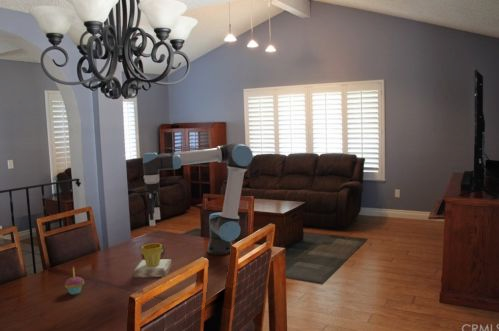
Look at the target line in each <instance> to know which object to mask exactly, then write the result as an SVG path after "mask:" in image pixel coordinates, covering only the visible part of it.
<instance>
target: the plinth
mask: <svg viewBox="0 0 499 331" xmlns="http://www.w3.org/2000/svg"><path fill="white" fill-rule="evenodd" d="M171 267H172V259H171V258H170V259H169V258H166V259H165V258H161V259H160V263H159V265H156V266H147V265H146V261H145V260H141V261H140V262H139V263H138V264H137V265H136V267H135V268H134V270H133V277H134V278H153V277H155V278H156V277H158V278H159V277H167V275H168V273H169V271H170V270H171Z"/></svg>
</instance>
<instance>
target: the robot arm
mask: <svg viewBox="0 0 499 331" xmlns="http://www.w3.org/2000/svg"><path fill="white" fill-rule="evenodd" d="M253 158H254V154H253V151H252V149H251V148H250V147H249V146H248V145H246V144H243V143H235V142H234V143H229V144H223V145H217V146H216V147H214V148H213V147H212V148H203V149H194V150H188V151H187V150H186V151H176V152H168V153H166V152H163V153H160V154H158V153H157V152H145V153H143V154H142V166H143V177H142V178H143V180H144V190H145V191H147V192H149V193H148V194H147V211H146V214H147V215H148V221H149V222H148V223H149V227H155V226H156V220H161V211H160V209H161V202H160V197H159V190H160V189H161V186H160V184H161V183H160V172H159V171H166V170H167V171H169V170H178V169H180V168H181V167H182V166H186V165H194V164H195V165H196V164H203V163H205V164H206V163H212V162H217V163H227V164H226V168H227V169H228V176H227V180H226V187H225V194H224V199H223V206H222V211H221V212H213V213H211V214H209V219H208V222H209V242H208V246H207V253H208V254H210V255H217V256H218V255H219V256H220V255H228V254H230V253H229V252H230V247H231V245H233V243H232V241H235V240H236V239H238V237H239V236H240V234H241V226H240V224H239V223H240V216H239V214H238V213H239V206H240V200H241V195H242V189H243V188H242V187H243V182H244V176H245V173H246V171H248V169H249V165H250V164H251V163H252V160H253Z"/></svg>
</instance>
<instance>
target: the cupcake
mask: <svg viewBox="0 0 499 331" xmlns="http://www.w3.org/2000/svg"><path fill="white" fill-rule="evenodd" d="M72 266H73V267H72V275H73V276H72V277H69V278H68V279H66V281H64V287H65V288H66V289H67V291H68V293H69V295H76V294H80V293H81V290H82V287H83V285H85V279H83V277H79V276H76V274H75V273H76V272H75V267H74V265H72Z"/></svg>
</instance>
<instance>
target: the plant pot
mask: <svg viewBox="0 0 499 331" xmlns="http://www.w3.org/2000/svg"><path fill="white" fill-rule="evenodd" d="M161 252H162V244H161V243H148V244H145V245H142V246H141V255H142V254H143V255H144V258H145V261H146V265H147V266H156V265H159V263H160V256H161Z"/></svg>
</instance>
